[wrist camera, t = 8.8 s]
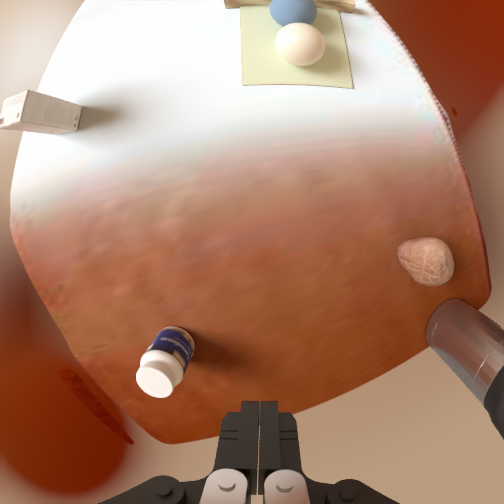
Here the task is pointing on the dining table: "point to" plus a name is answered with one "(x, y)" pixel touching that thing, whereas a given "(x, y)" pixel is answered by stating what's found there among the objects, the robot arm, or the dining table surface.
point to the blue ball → (293, 11)
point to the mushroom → (427, 260)
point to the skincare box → (39, 114)
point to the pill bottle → (165, 362)
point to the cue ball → (300, 44)
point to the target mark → (278, 70)
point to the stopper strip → (343, 3)
